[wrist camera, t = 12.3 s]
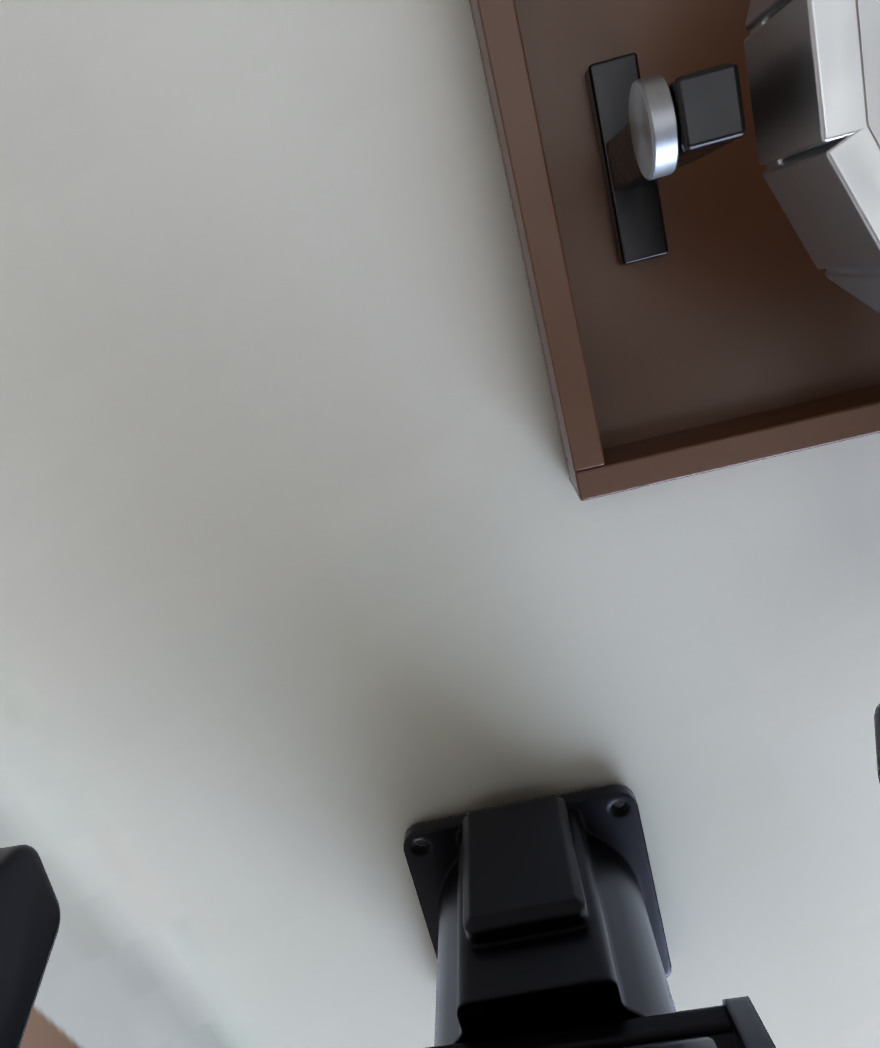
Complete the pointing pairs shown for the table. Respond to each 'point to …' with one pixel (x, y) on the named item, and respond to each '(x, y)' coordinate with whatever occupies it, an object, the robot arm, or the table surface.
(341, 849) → the table surface
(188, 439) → the table surface
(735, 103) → the stand
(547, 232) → the tray
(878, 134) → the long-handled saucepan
